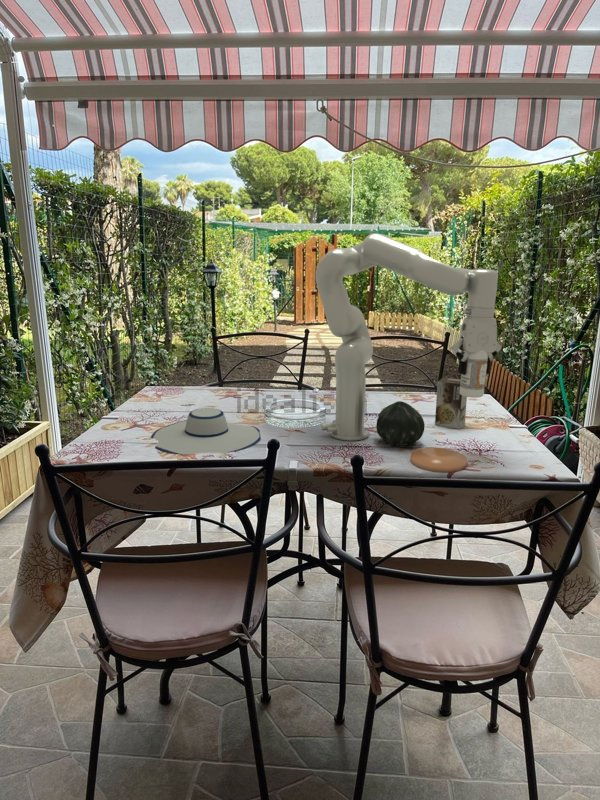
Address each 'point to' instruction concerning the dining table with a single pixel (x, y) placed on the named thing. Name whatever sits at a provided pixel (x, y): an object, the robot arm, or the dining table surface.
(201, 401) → the dining table surface
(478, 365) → the bath foam
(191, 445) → the sun hat
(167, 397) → the dining table surface
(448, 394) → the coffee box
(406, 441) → the squash
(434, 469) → the terracotta dish
